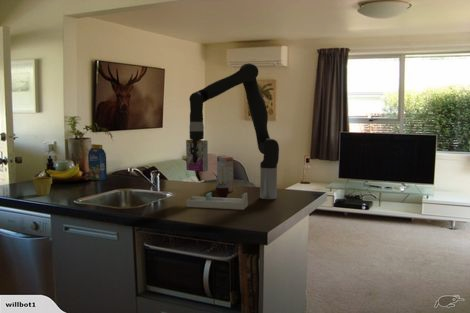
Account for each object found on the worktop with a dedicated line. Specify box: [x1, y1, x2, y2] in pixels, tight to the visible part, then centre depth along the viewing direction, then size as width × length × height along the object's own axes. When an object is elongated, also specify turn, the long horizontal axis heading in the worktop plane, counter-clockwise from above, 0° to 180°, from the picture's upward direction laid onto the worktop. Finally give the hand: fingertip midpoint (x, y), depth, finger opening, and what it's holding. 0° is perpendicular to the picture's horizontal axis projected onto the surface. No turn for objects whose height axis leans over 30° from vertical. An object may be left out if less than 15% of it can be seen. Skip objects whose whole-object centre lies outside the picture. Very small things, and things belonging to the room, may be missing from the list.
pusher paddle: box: [205, 192, 225, 201], centre depth 229 cm, size 7×9×5 cm
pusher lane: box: [185, 192, 249, 211], centre depth 229 cm, size 9×30×7 cm, turn 76°
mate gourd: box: [212, 172, 230, 198], centre depth 248 cm, size 8×8×15 cm
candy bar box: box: [185, 139, 209, 172], centre depth 239 cm, size 11×5×16 cm, turn 57°
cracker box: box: [216, 155, 234, 193], centre depth 274 cm, size 14×6×21 cm, turn 22°
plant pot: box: [32, 176, 53, 197], centre depth 261 cm, size 10×10×10 cm
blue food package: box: [87, 143, 108, 182], centre depth 316 cm, size 6×12×25 cm, turn 56°
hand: (197, 161), depth 239 cm, fingers closed on candy bar box, 6 cm apart
